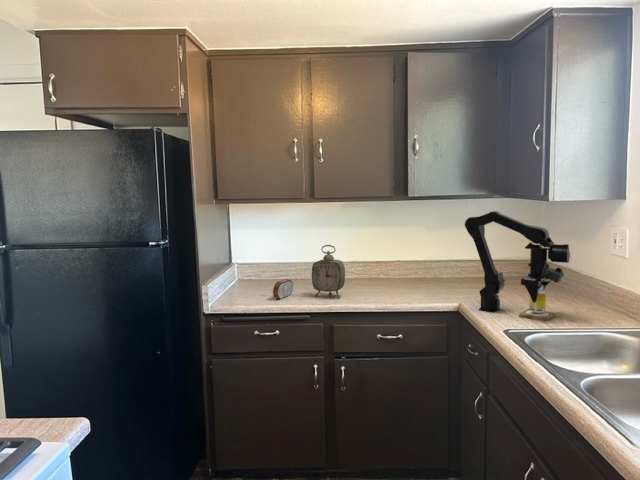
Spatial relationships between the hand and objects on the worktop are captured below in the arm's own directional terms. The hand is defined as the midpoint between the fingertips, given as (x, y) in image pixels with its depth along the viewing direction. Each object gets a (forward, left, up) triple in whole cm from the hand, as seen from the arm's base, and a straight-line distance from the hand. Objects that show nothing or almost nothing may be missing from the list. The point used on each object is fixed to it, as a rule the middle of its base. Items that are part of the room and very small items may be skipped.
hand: (537, 300), depth 174 cm
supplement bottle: (0, 0, -4) cm, 4 cm away
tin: (-102, -41, -6) cm, 110 cm away
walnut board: (0, 0, -6) cm, 6 cm away
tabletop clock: (-86, -26, -6) cm, 90 cm away
